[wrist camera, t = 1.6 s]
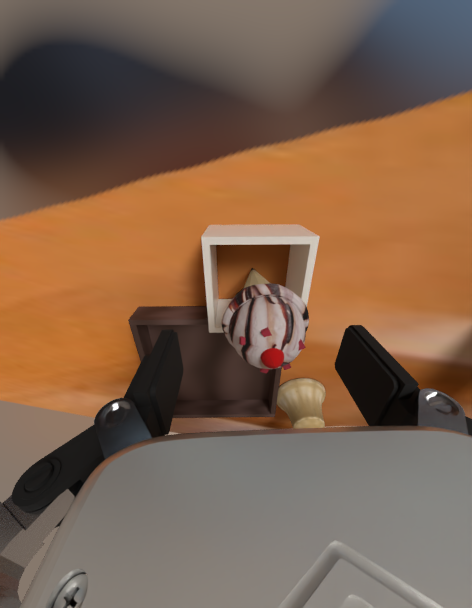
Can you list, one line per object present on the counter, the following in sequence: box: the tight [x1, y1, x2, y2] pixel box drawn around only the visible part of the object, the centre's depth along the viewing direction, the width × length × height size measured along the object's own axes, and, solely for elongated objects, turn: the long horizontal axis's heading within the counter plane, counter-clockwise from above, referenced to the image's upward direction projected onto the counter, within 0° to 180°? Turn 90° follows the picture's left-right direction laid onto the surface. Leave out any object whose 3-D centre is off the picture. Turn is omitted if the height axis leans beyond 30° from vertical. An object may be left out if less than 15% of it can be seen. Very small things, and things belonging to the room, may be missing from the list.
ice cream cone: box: [221, 268, 309, 374], centre depth 17 cm, size 6×6×15 cm
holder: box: [201, 225, 319, 333], centre depth 21 cm, size 9×9×6 cm
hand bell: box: [277, 378, 326, 429], centre depth 28 cm, size 8×8×16 cm
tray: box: [128, 306, 282, 418], centre depth 29 cm, size 18×18×3 cm
